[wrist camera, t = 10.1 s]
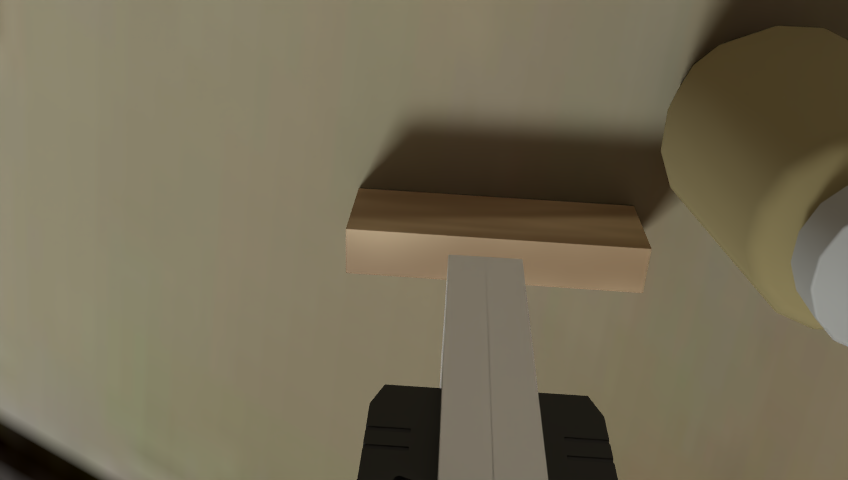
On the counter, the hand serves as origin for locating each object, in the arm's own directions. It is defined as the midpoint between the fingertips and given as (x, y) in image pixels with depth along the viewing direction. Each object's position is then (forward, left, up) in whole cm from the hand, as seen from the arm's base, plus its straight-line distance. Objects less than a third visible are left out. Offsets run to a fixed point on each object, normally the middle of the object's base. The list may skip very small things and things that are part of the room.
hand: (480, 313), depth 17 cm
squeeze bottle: (+1, +11, -18) cm, 21 cm away
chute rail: (+6, +1, -18) cm, 19 cm away
